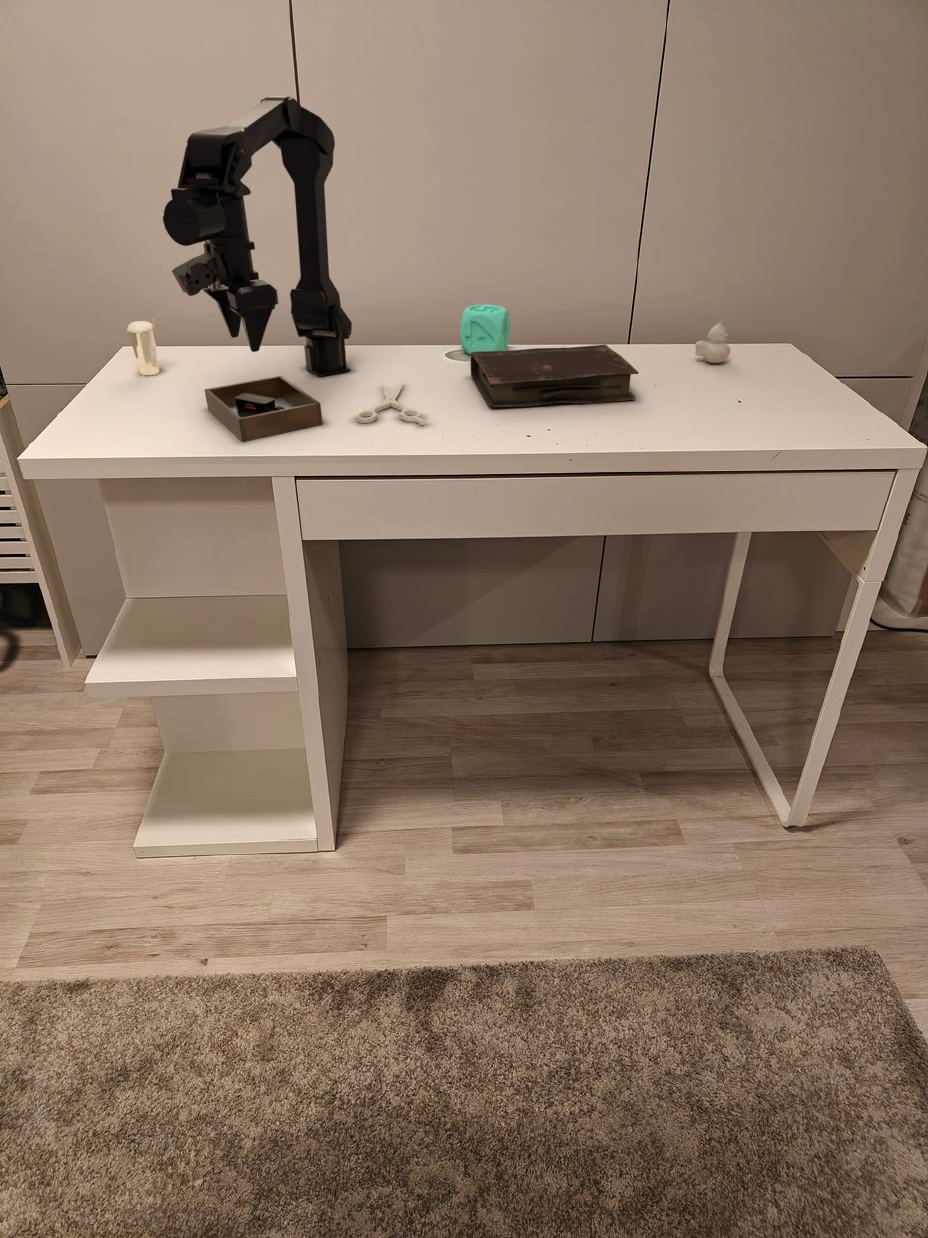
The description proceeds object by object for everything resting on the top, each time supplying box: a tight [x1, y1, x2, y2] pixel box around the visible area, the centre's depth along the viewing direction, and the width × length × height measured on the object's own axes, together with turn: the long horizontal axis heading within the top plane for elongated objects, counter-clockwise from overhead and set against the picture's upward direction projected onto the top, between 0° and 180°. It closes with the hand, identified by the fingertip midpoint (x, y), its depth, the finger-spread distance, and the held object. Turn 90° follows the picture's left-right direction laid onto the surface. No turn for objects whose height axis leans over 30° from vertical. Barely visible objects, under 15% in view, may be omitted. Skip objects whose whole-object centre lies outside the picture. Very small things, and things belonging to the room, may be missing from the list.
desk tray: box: [204, 375, 324, 443], centre depth 132 cm, size 13×16×4 cm
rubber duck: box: [694, 318, 731, 364], centre depth 154 cm, size 5×7×8 cm
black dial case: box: [235, 393, 286, 418], centre depth 132 cm, size 5×7×3 cm, turn 63°
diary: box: [470, 344, 639, 408], centre depth 142 cm, size 19×25×5 cm
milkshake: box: [126, 317, 160, 376], centre depth 149 cm, size 4×5×10 cm
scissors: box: [356, 382, 425, 426], centre depth 137 cm, size 11×1×20 cm
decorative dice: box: [459, 304, 511, 356], centre depth 160 cm, size 8×8×8 cm
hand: (244, 343), depth 127 cm, fingers open, 9 cm apart
